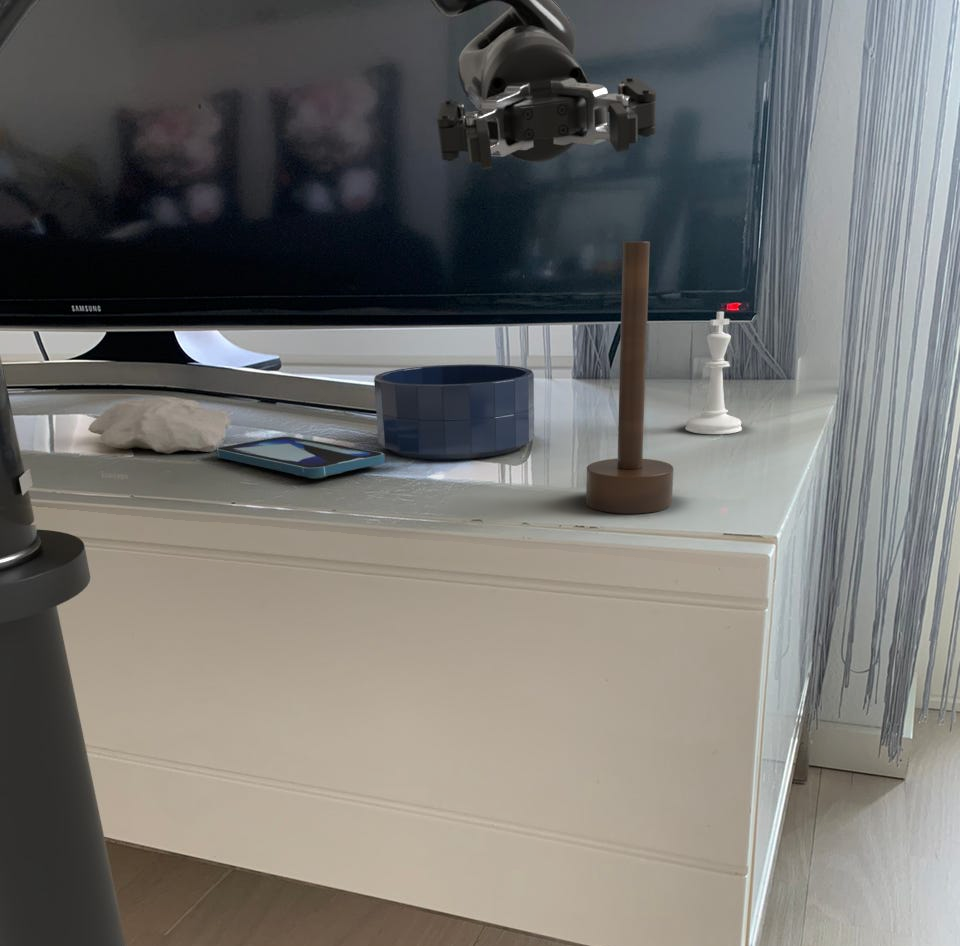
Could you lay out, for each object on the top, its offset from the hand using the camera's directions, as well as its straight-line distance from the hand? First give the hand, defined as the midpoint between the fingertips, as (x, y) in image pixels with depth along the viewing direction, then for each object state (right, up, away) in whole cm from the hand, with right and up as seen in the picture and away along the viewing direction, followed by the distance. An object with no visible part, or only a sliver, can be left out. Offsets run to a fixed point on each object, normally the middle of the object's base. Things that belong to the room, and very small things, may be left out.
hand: (554, 142), depth 60 cm
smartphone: (-19, -16, +19) cm, 32 cm away
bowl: (-7, -14, +24) cm, 29 cm away
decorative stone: (-33, -13, +29) cm, 46 cm away
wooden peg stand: (+5, -22, +5) cm, 23 cm away
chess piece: (+16, -12, +28) cm, 34 cm away
